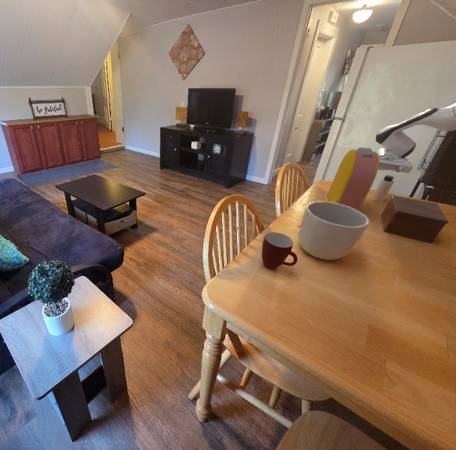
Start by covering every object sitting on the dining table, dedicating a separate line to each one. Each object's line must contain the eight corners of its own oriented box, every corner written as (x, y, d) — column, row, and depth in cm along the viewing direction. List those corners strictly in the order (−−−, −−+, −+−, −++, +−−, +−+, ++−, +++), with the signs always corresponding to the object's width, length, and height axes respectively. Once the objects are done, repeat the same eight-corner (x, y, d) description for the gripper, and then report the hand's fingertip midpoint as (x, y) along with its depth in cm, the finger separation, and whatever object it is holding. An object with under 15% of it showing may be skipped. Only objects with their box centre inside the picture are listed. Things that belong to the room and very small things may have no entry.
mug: (294, 265, 78) (304, 240, 73) (290, 280, 73) (300, 254, 67) (260, 253, 83) (268, 229, 78) (254, 266, 78) (261, 241, 72)
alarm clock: (356, 216, 106) (387, 156, 92) (331, 212, 109) (358, 153, 95) (348, 197, 122) (373, 143, 108) (327, 194, 125) (349, 141, 111)
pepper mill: (381, 198, 121) (393, 175, 115) (385, 202, 118) (398, 178, 111) (369, 196, 123) (381, 174, 116) (373, 200, 119) (385, 177, 113)
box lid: (447, 224, 84) (448, 221, 83) (396, 213, 90) (397, 211, 90) (435, 205, 95) (436, 203, 95) (391, 197, 102) (392, 195, 101)
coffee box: (431, 243, 89) (446, 223, 85) (384, 231, 96) (396, 212, 91) (422, 224, 100) (435, 205, 95) (380, 215, 107) (391, 197, 102)
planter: (347, 274, 75) (371, 234, 67) (288, 254, 83) (302, 216, 75) (348, 247, 87) (368, 210, 79) (296, 232, 95) (309, 196, 87)
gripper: (363, 152, 135) (364, 158, 125) (412, 159, 126) (417, 166, 116) (358, 163, 139) (358, 170, 129) (405, 171, 129) (409, 178, 119)
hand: (386, 168), depth 122 cm, fingers open, 8 cm apart
